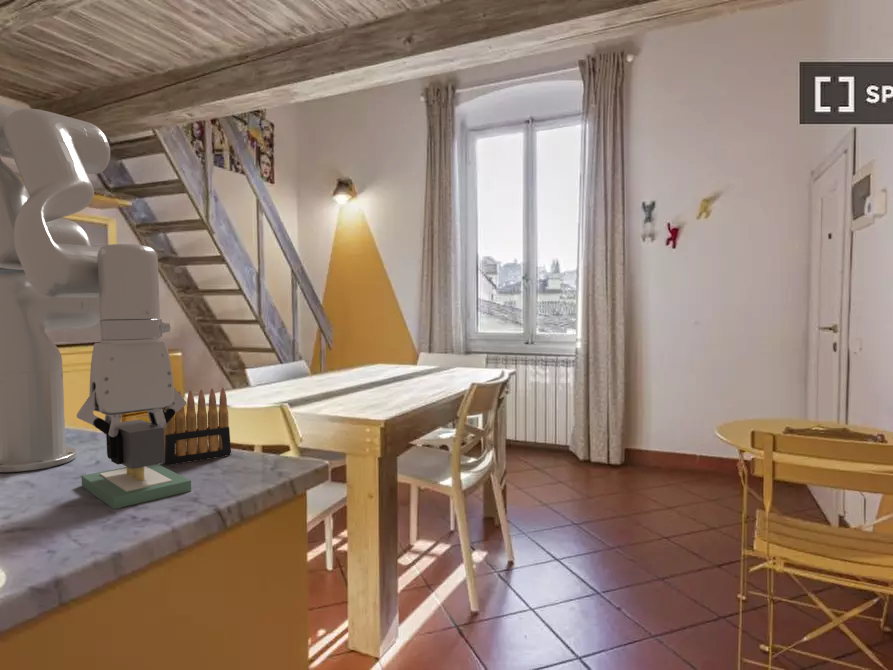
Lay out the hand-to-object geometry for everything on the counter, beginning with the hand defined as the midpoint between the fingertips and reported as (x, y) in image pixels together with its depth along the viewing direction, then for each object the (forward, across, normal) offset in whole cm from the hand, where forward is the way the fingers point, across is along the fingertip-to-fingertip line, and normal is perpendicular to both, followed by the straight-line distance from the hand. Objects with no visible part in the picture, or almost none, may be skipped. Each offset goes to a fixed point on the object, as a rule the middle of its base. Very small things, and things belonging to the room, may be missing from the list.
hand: (136, 457), depth 84 cm
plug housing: (0, 0, 0) cm, 0 cm away
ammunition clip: (+5, -13, -9) cm, 17 cm away
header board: (+5, 0, 0) cm, 5 cm away
